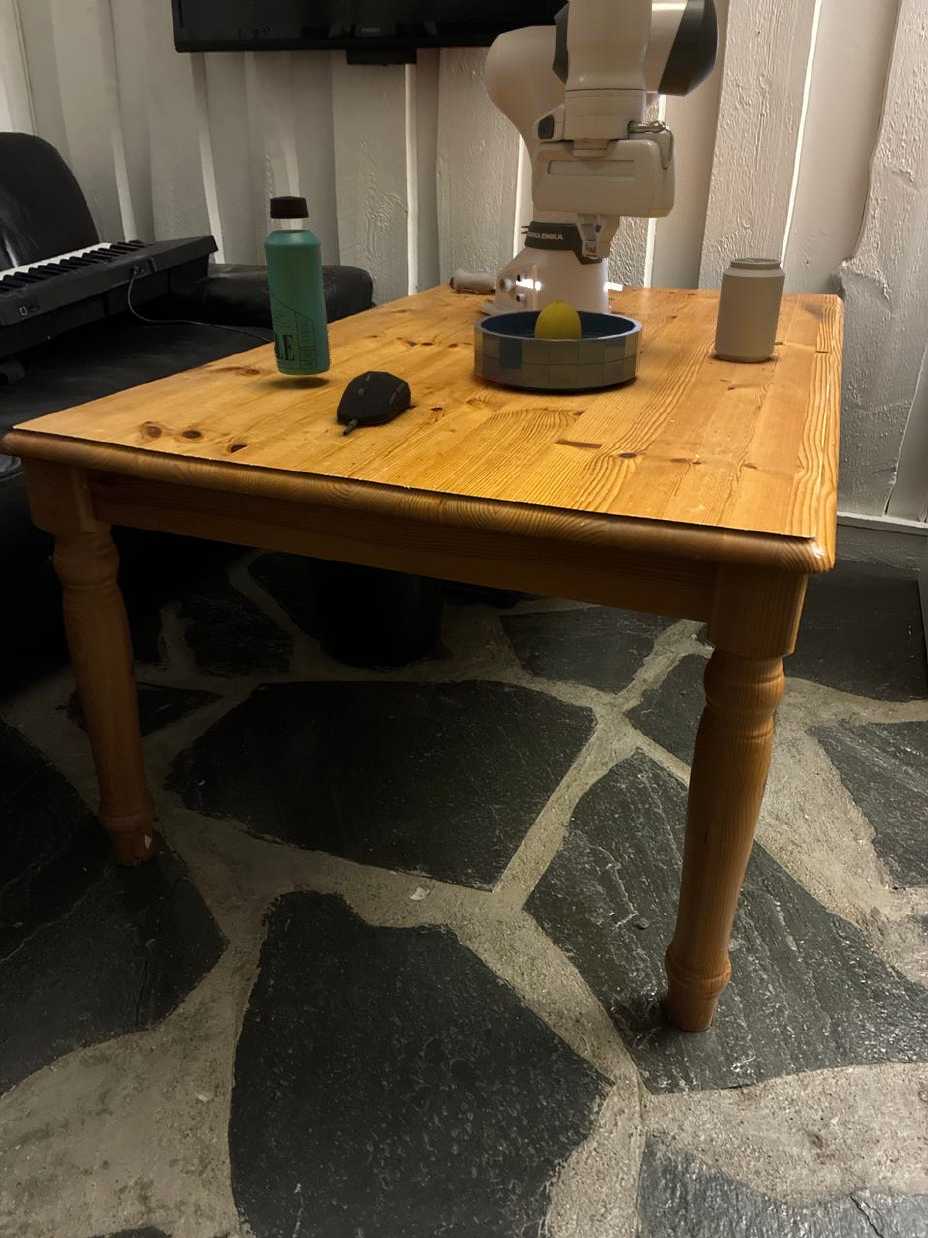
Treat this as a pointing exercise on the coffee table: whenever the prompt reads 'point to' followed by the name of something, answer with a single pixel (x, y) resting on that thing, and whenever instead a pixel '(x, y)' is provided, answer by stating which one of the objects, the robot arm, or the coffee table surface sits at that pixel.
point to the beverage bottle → (296, 293)
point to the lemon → (558, 322)
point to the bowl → (557, 352)
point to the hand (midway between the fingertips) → (595, 257)
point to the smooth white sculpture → (473, 281)
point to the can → (749, 309)
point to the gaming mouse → (373, 399)
